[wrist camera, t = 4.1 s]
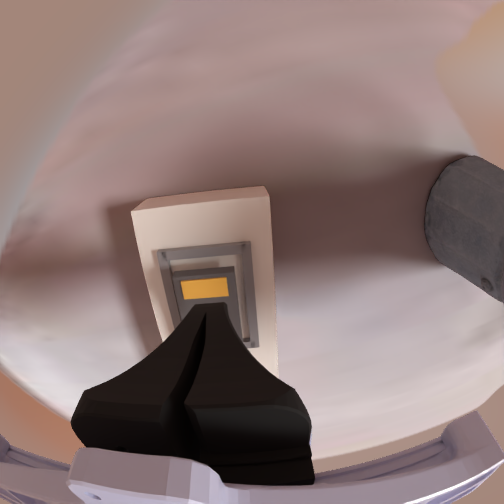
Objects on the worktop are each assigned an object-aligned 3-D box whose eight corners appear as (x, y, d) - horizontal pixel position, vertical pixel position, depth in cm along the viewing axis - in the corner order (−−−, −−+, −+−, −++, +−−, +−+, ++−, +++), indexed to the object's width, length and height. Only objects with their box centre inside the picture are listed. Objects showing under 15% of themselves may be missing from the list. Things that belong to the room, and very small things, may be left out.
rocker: (243, 341, 17) (243, 350, 16) (191, 344, 17) (189, 354, 16) (234, 265, 15) (234, 273, 14) (174, 271, 15) (171, 278, 14)
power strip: (276, 411, 25) (280, 440, 22) (200, 416, 25) (198, 445, 22) (263, 185, 17) (270, 197, 14) (146, 198, 17) (128, 213, 14)
